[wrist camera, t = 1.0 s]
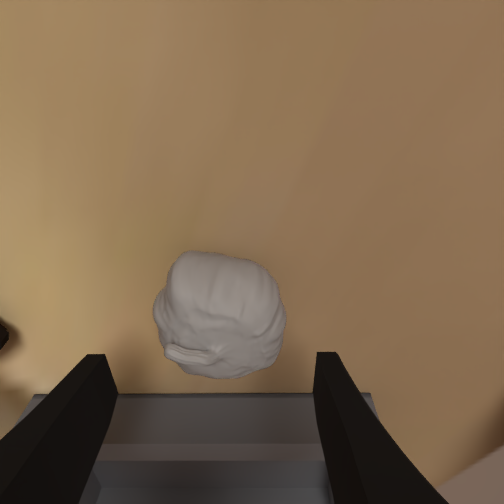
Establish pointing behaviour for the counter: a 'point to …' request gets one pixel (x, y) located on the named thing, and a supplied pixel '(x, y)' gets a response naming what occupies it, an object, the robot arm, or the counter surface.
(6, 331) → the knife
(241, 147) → the counter surface
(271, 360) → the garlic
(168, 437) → the tray
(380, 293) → the counter surface
